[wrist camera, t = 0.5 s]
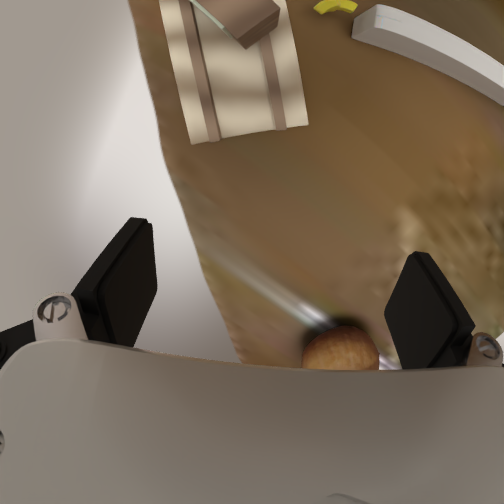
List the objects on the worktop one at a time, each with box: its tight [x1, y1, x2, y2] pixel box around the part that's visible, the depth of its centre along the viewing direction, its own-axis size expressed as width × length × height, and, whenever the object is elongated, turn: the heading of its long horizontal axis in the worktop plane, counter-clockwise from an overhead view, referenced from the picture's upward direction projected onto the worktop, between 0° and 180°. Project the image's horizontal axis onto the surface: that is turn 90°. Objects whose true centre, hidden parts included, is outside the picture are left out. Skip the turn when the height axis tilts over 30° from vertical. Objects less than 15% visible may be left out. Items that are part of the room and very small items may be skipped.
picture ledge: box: [159, 0, 308, 145], centre depth 27 cm, size 26×14×3 cm, turn 10°
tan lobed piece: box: [301, 326, 380, 370], centre depth 42 cm, size 14×13×25 cm
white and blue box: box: [313, 0, 504, 106], centre depth 23 cm, size 32×4×10 cm, turn 82°
